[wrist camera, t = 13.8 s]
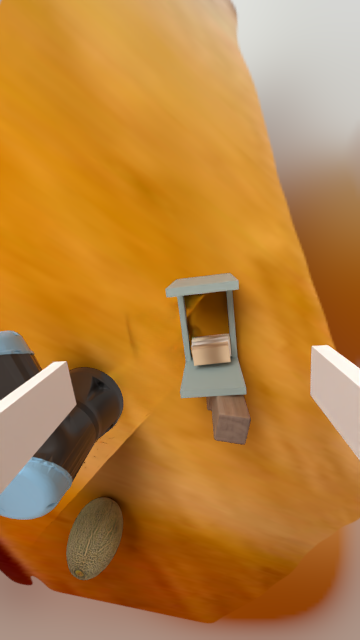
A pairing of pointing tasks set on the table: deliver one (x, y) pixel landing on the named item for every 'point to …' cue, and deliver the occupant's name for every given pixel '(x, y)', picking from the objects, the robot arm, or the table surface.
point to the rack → (195, 378)
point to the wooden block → (229, 418)
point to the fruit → (94, 538)
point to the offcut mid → (213, 341)
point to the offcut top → (211, 353)
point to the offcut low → (210, 338)
